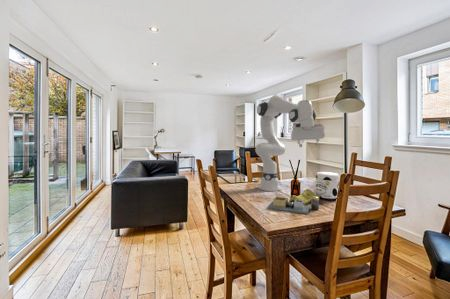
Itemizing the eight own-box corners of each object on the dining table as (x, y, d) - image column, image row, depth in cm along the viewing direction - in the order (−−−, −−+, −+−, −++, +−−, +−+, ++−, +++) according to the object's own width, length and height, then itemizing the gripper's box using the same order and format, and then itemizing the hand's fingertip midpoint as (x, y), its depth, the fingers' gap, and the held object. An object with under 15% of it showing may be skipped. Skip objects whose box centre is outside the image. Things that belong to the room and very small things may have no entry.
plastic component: (304, 203, 157) (291, 194, 163) (299, 211, 161) (287, 202, 166) (318, 195, 171) (306, 187, 177) (313, 203, 174) (302, 195, 180)
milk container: (312, 199, 175) (313, 174, 173) (315, 193, 190) (316, 170, 189) (338, 202, 167) (340, 176, 165) (340, 196, 182) (341, 172, 181)
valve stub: (311, 207, 156) (312, 195, 155) (318, 208, 154) (319, 196, 153) (310, 209, 152) (311, 197, 151) (318, 210, 150) (318, 198, 149)
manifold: (272, 203, 164) (272, 195, 164) (309, 208, 154) (310, 199, 154) (268, 208, 153) (268, 199, 153) (307, 214, 143) (308, 205, 143)
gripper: (322, 124, 156) (324, 146, 155) (289, 127, 159) (291, 148, 158) (325, 122, 150) (327, 144, 149) (291, 125, 153) (292, 147, 151)
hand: (308, 146), depth 153 cm, fingers open, 8 cm apart
